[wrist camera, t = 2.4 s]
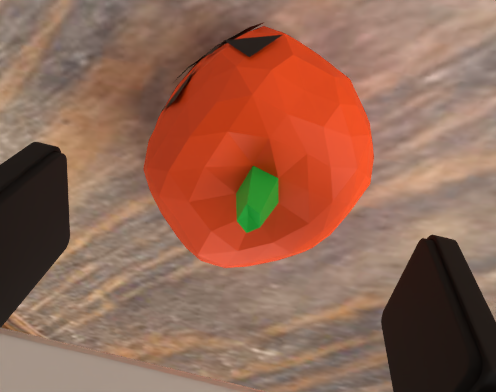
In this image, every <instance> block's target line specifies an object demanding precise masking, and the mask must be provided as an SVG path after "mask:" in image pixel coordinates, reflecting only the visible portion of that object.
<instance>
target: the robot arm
mask: <svg viewBox="0 0 496 392" xmlns="http://www.w3.org/2000/svg"><path fill="white" fill-rule="evenodd" d="M69 239H70V226H69V203H68V179H67V159H66V156H65V155H64V154H62V153H61V151H60V149H59V148H58V147H56V146H52V145H48V144H43V143H39V142H33V143H31V144H30V145H28V146H27V147H25V148H24V149H23V150H21V151H20V152H18V153H17V154H15V155H14V156H12V157H11V158H10V159H8V160H7V161H5V162H4V163H2V164H1V165H0V392H266V391H262V390H258V389H254V388H249V387H245V386H241V385H237V384H233V383H229V382H225V381H221V380H217V379H213V378H209V377H204V376H200V375H196V374H192V373H188V372H184V371H180V370H176V369H172V368H167V367H163V366H159V365H155V364H151V363H147V362H143V361H138V360H134V359H130V358H126V357H122V356H118V355H114V354H109V353H105V352H101V351H97V350H93V349H88V348H84V347H80V346H76V345H71V344H67V343H63V342H59V341H55V340H50V339H46V338H42V337H38V336H34V335H29V334H25V333H21V332H17V331H12V330H8V329H4V328H1V327H2V325H3V324H4V323H5V322H6V321H7V319H8V318H9V317H10V316H11V314H12V313H13V312H14V311H15V310H16V308H17V307H18V306H19V305H20V304H21V302H22V301H23V300H24V299H25V298H26V296H27V295H28V294H29V293H30V291H31V290H32V289H33V288H34V287H35V285H36V284H37V283H38V282H39V281H40V279H41V278H42V277H43V276H44V275H45V273H46V272H47V271H48V270H49V268H50V267H51V266H52V265H53V264H54V262H55V261H56V260H57V259H58V258H59V256H60V255H61V254H62V253H63V252H64V250H65V249H66V247H67V245H68V243H69ZM381 323H382V330H383V336H384V341H385V347H386V352H387V358H388V363H389V369H390V375H391V380H392V386H393V391H394V392H496V322H495V320H494V318H493V315H492V313H491V311H490V309H489V307H488V305H487V303H486V301H485V299H484V297H483V295H482V293H481V291H480V289H479V287H478V285H477V283H476V281H475V278H474V276H473V274H472V272H471V270H470V268H469V266H468V264H467V262H466V260H465V258H464V256H463V254H462V252H461V250H460V248H459V246H458V244H457V242H456V241H455V240H453V239H448V238H444V237H440V236H436V235H430V236H429V237H428V238H427V239H424V238H423V239H421V240H420V241H419V242H418V244H417V246H416V248H415V250H414V252H413V254H412V256H411V258H410V260H409V262H408V264H407V266H406V268H405V270H404V272H403V274H402V276H401V278H400V280H399V282H398V283H397V285H396V287H395V289H394V291H393V293H392V295H391V297H390V299H389V301H388V303H387V305H386V307H385V309H384V311H383V314H382V321H381Z"/></svg>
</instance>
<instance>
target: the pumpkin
mask: <svg viewBox="0 0 496 392" xmlns="http://www.w3.org/2000/svg"><path fill="white" fill-rule="evenodd" d="M263 23H264V22H263ZM263 23H261V24H263ZM261 24H258V25H255V26H252V27H249V28H247V29H245V30H244V31H242V32H240V33H238V34H237V35H235V36H233V37H231V38H229V39H228V40H224V41H223V42H222V43H221V44H219V45H217V46H216V47H215V48H213V49H212V50H211V51H209V52H208V53H207V54H206V55H204V56H203V57H202V58H201V59H199V60H198V61H197V62H195V63H196V64H195V63H193V64H192V65H194V64H195V65H194V67H193V68H192V69H191V70H190V71H189V73H188V74H187V75H186V76H185V77H184V78H183V80H182V81H181V82H180V83H179V84H178V86H177V87H176V88H175V90H174V92H173V94H172V95H171V97H170V99H169V100H168V102H167V104H166V106H165V107H164V109H163V110H162V111H161V114H160V116H159V118H158V121H157V124H156V126H155V129H154V131H153V133H152V135H151V137H150V139H149V142H148V147H147V153H146V158H145V164H144V172H145V176H146V179H147V183H148V186H149V189H150V191H151V194H152V196H153V198H154V200H155V202H156V204H157V206H158V207H159V209H160V211H161V213H162V215H163V216H164V218H165V219H166V221H167V222H168V224H169V225H170V227H171V228H172V230H173V231H174V233H175V234H176V236H177V237H178V238H179V239H180V241H181V242H182V243H183V244H184V246H185V247H186V248H187V249H188V250H189V251H190V252H192V253H193V254H194V255H195V256H196V257H197V258H198V259H200V260H201V261H203V262H207V263H210V264H213V265H217V266H220V267H224V268H231V267H246V266H252V265H257V264H262V263H267V262H271V261H276V260H281V259H284V258H287V257H290V256H293V255H296V254H299V253H302V252H304V251H306V250H309V249H311V248H313V247H314V246H315V245H317V244H318V243H319V242H321V241H322V240H323V239H325V238H326V237H328V236H329V235H330V234H331V233H332V232H333V231H334V230H335V229H336V227H337V226H338V225H339V224H340V223H341V222H342V220H343V219H344V218H345V217H346V216H347V215H348V214H349V212H350V211H351V210H352V208H353V207H354V205H355V204H356V203H357V201H358V200H359V198H360V197H361V196H362V194H363V193H364V192H365V190H366V189H367V187H368V186H369V185H370V182H371V174H372V167H373V159H374V154H373V144H372V137H371V130H370V123H369V120H368V118H367V115H366V113H365V111H364V108H363V106H362V104H361V102H360V100H359V98H358V96H357V93H356V91H355V89H354V87H353V85H352V83H351V81H350V79H349V78H348V77H347V76H345V75H344V74H343V73H341V72H340V71H339V70H338V69H336V68H335V67H334V66H332V65H331V64H330V63H329V62H327V61H326V60H325V59H323V58H322V57H321V56H319V55H318V54H317V53H315V52H314V51H312V50H311V49H309V48H308V47H306V46H305V45H303V44H302V43H300V42H299V41H297V40H296V39H294V38H292V37H290V36H288V35H287V34H285V33H282V32H279V31H276V30H274V29H271V28H268V27H265V26H263V27H260V28H258V29H255V30H252V29H254V28H256V27H257V26H259V25H261ZM250 30H252V31H250ZM248 31H250V32H248ZM239 36H240V37H239ZM237 37H238V38H237ZM226 43H227V44H226ZM224 44H225V45H224ZM192 65H190V66H189V67H191V66H192ZM189 67H188V68H189ZM188 68H187V69H188ZM187 69H186V70H187ZM186 70H185V71H186ZM185 71H184V72H185ZM184 72H183V73H184ZM183 73H182V74H183ZM182 74H181V75H182ZM181 75H180V76H181ZM180 76H179V77H180ZM179 77H178V78H179Z"/></svg>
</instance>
